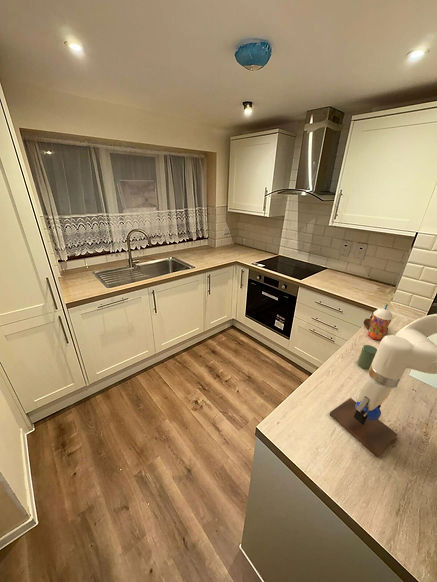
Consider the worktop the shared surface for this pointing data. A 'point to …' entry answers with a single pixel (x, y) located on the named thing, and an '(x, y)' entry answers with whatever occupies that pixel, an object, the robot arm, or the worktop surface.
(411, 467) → the worktop surface
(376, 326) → the smoothie
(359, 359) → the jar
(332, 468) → the worktop surface
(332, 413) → the board
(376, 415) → the lid
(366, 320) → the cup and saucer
